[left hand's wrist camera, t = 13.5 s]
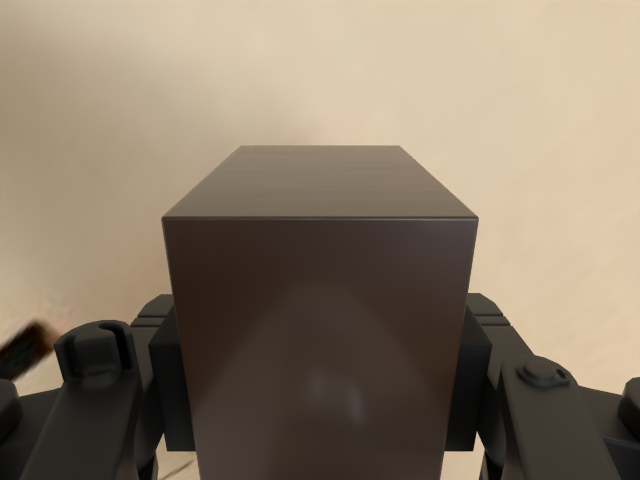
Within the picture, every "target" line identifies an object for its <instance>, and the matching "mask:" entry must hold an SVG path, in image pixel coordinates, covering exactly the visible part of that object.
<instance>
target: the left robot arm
mask: <svg viewBox="0 0 640 480" xmlns="http://www.w3.org/2000/svg"><path fill="white" fill-rule="evenodd" d="M54 349H55V352H56V356H57V359H58V363H59V366H60V370H61V373H62V377H63V380H64V382H63V385H62V387H61V388H57V389H54V390H50V391H45V392H40V393H35V394H31V395H26V396H21V397H19V396H18V393H17V390H16V387H15V385H14V384H13V383H12V382H10V381H9V380H5V379H0V480H157V476H158V461H157V456H156V449H157V446H158V444H159V442H160V439H161V437H162V435H163V433H164V436H165V442H166V447H167V451H196V447H195V440H194V434H193V427H192V420H191V414H190V407H189V400H188V394H187V387H186V380H185V374H184V367H183V360H182V354H181V347H180V340H179V334H178V327H177V321H176V314H175V307H174V301H173V294H161V295H159V296H158V297H156V298H155V299H153V300H152V301H150V302H149V303H147V304H146V305H145V306H144V308H143V309H142V310H141V311H140V313H139V314H138V315H137V318H135V319H134V321H133V322H132V323H131V325H130V326H129V325H128V324H127V323H125V322H122V321H117V320H101V321H96V322H91V323H87V324H84V325H82V326H79V327H77V328H74V329H72V330H70V331H69V332H67V333H66V334H64V335H62V336H61V337H60V338H59V339H58V340H57V341H56V343H55V344H54ZM477 432H478V434H479V437H480V439H481V441H482V443H483V446H484V448H485V450H484V456H483V461H482V466H481V471H480V476H479V480H640V377H637V378H632V379H631V380H630V381H628V382H627V383H626V385H625V388H624V391H623V394H622V395H619V394H614V393H609V392H604V391H599V390H595V389H590V388H586V387H582V386H579V385H578V384H577V382H576V380H575V379H574V377H573V376H572V375H571V373H570V372H569V371H567V370H566V369H565V368H563V367H562V366H561V365H559V364H558V363H555V362H553V361H551V360H549V359H547V358H544V357H540V356H536V355H534V354H533V352H532V351H531V350H530V349H529V347H528V346H527V345H526V343H525V342H524V341H523V339H522V338H521V337H520V335H519V334H518V333H517V332H516V330H515V329H514V328H513V326H510V322H509V321H508V320H507V318H506V317H505V316H503V313H502V312H501V311H500V309H499V308H498V307H497V305H496V304H495V303H494V302H493V301H491V300H489V299H488V298H486V297H485V296H483V295H482V294H480V293H468V295H467V301H466V308H465V315H464V322H463V328H462V335H461V342H460V348H459V355H458V362H457V369H456V375H455V382H454V389H453V395H452V402H451V409H450V416H449V422H448V429H447V436H446V443H445V449H444V451H473V449H474V444H475V438H476V433H477Z"/></svg>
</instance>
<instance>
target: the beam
mask: <svg viewBox="0 0 640 480" xmlns="http://www.w3.org/2000/svg"><path fill="white" fill-rule="evenodd" d="M161 221H162V227H163V234H164V241H165V247H166V254H167V261H168V267H169V274H170V281H171V287H172V294H173V301H174V307H175V314H176V321H177V327H178V334H179V340H180V347H181V354H182V360H183V367H184V374H185V380H186V387H187V394H188V400H189V407H190V414H191V420H192V427H193V434H194V440H195V447H196V453H197V460H198V467H199V473H200V480H440V476H441V469H442V463H443V456H444V449H445V443H446V436H447V429H448V422H449V416H450V409H451V402H452V395H453V389H454V382H455V375H456V369H457V362H458V355H459V348H460V342H461V335H462V328H463V322H464V315H465V308H466V301H467V295H468V288H469V281H470V275H471V268H472V261H473V254H474V248H475V241H476V234H477V228H478V221H479V218H478V216H477V215H475V214H474V213H473V212H472V211H471V210H470V209H469V208H468V207H467V206H465V205H464V204H463V203H462V202H461V201H460V200H459V199H458V198H457V197H456V196H454V195H453V194H452V193H451V192H450V191H449V190H448V189H447V188H446V187H444V186H443V185H442V184H441V183H440V182H439V181H438V180H437V179H436V178H434V177H433V176H432V175H431V174H430V173H429V172H428V171H427V170H426V169H425V168H423V167H422V166H421V165H420V164H419V163H418V162H417V161H416V160H415V159H413V158H412V157H411V156H410V155H409V154H408V153H407V152H406V151H405V150H404V149H402V148H401V147H400V146H240V147H239V148H238V149H237V150H236V151H235V152H233V153H232V154H231V155H230V156H229V157H228V158H227V159H226V160H225V161H223V162H222V163H221V164H220V165H219V166H218V167H217V168H216V169H215V170H214V171H212V172H211V173H210V174H209V175H208V176H207V177H206V178H205V179H204V180H202V181H201V182H200V183H199V184H198V185H197V186H196V187H195V188H194V189H192V190H191V191H190V192H189V193H188V194H187V195H186V196H185V197H184V198H183V199H181V200H180V201H179V202H178V203H177V204H176V205H175V206H174V207H173V208H171V209H170V210H169V211H168V212H167V213H166V214H165V215H164V216H163V217H162V219H161Z"/></svg>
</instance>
